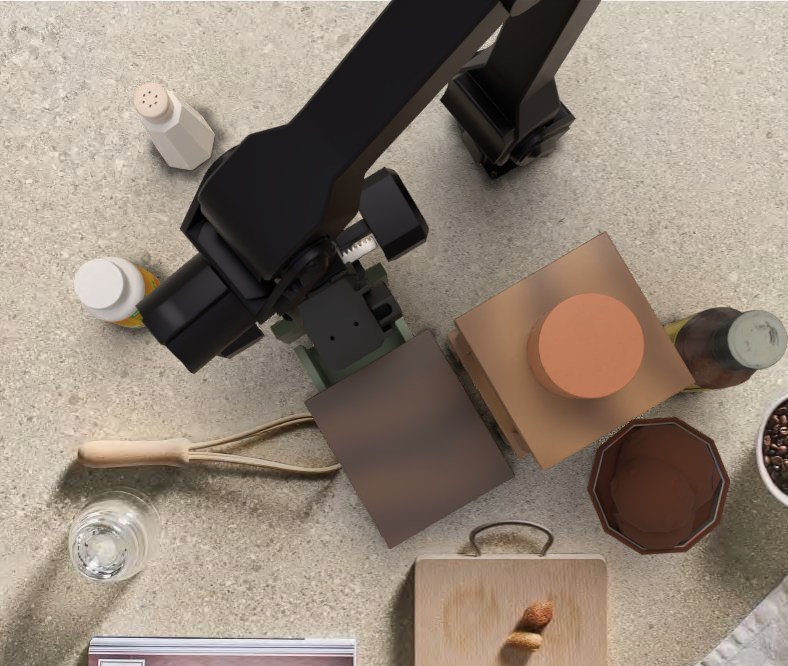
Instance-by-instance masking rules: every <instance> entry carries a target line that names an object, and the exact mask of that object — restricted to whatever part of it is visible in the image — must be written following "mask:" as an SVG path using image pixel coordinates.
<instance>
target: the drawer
mask: <svg viewBox="0 0 788 666" xmlns="http://www.w3.org/2000/svg"><path fill="white" fill-rule="evenodd" d="M364 270H365V276H364V278H366V277H367V278H368V280H369V281H370V283H371V284H376V283H378V282H379V281H384V283H385V284H386V285H387V287H388V288H389V286H390V282H389V276H388V273H387V271H386V269H385V267H384V265H383V263H381V261H378V262H377V263H375V264H374V265H372V266H370V267H368V268H367V269H364ZM364 278H363V279H362V280H364ZM379 325H380V324H379ZM380 326H381V325H380ZM395 326H396V328H397V330H398V331H396V332H394V333H393V334H391V335H390V336H388V337H386V338H385V339H384V342H383V344H382V346H381V347H380V348H378V349H377V350H375V351H373V352H372V353H370V354H368V355H367V356H365V357H363V358H362V359H360V360H358V361H357V362H355V363H353V364H351V365H350V366H348V367H346V368H345V369H343V370H339V371H335V370H331V369H330V368H328V367H327V366H326V364H325V363H324V361H323V360H322V358H321V356H320V355H319V353H318V352H317V350H316V348H315V347H314V345H312V346H310V347H307V346H304V345H303V344H298V345H297V346H295V347H294V348H293V350H292V351H293V352H294V354H295V355H296V357H297V359H298V360H299V362H300V364H301V366H302V367H303V369H304V370H305V372H306V374H307V376H308V377H309V379H310V381H311V383H312V385H313V386H314V388H315V390H316V391H317V394H318V393H320V392H322V391H323V390H325V389H327V388H328V387H330V386H332V385H334V384H335V383H337V382H339V381H340V380H342V379H344V378H345V377H347V376H349V375H351V374H352V373H354V372H356V371H357V370H359V369H361V368H362V367H364V366H366V365H368V364H369V363H371V362H373V361H374V360H376V359H378V358H380V357H381V356H383V355H385V354H386V353H388V352H390V351H391V350H393V349H395V348H397V347H398V346H400V345H402V344H403V343H405V342H407V341H408V340H410V339H412V338H414V337H415V335H414V334H413V332H412V330H411V329H410V327H409V325H408V324H407V322H406V320H405V319H404V316H403V317H401V318H400V319H398V320H397V321H396V322H395ZM269 328H270V330H271V332H272V333H273V336H274V337H275V339H276V340H277V341H280V342H282V343H284V344H287V345H289V346H290V345H291V344H292V343H294V342H296V341H298V340H300V339H301V338H303V337H305V336H306V335H307V334H306V332H305V330H304V328H299V327H297V326H296V324H295V322H294V321H286V320H285V319H284V318H283V317H282V319H280V320H278V321H276V322H275V323H273V324H271V325H270V326H269Z"/></svg>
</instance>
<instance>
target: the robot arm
mask: <svg viewBox="0 0 788 666" xmlns="http://www.w3.org/2000/svg"><path fill="white" fill-rule="evenodd" d="M601 2H602V0H390V1H389V2H388V3H387V5H386V6H385V7H384V8H383V9H382V11H381V12H380V13H379V15H378V16H377V17H376V18H375V19H374V20H373V22H372V23H371V24H370V26H368V28H367V29H366V30H365V31H364V33H363V34H362V35H361V36H360V38H359V39H358V40H357V41H356V42H355V44H353V46H352V47H351V49H349V51H348V52H347V53H346V54H345V56H344V57H342V59H341V60H340V62H339V63H338V64H337V65H336V66H335V68H334V69H333V70H332V71H331V73H330V74H329V75H328V76H327V78H326V79H325V80H324V81H323V82H322V83H321V85H320V86H319V87H318V89H316V91H315V92H314V93H313V94H312V96H311V97H310V98H308V100H307V101H306V103H305V104H304V105H303V107H301V109H299V111H298V112H297V113H296V114H295V115H294V116H293V117H292V118H291V119H290V121H288V122H287V123H285V124H281V125H278V126H274V127H270V128H267V129H262V130H259V131H256V132H252V133H250V134H247V135H246V136H245V137H244V139H243V140H242V141H241V142H239V143H238V144H236V145H234V146H233V147H231V148H229V149H228V150H227V151H224V153H221V155H220V156H219V157H217V158H216V159H215V160H214V161H213V162H212V163H211V164H210V166H209V167H208V168H207V169H206V171H205V173H204V174H203V176H202V178H201V181H200V184H199V185H198V188H197V190H196V192H195V194H194V196H193V197H192V201H191V202H190V205H189V207H188V210H187V211H186V214H185V216H184V218H183V220H182V222H181V225H180V227H179V230H180V231H181V232H182V234H183V235H184V237H186V239H187V240H188V241H189V242H190V243H191V245H192V246H193V247H194V248H195V249H196V251H197V253H196V254H194V255H193V256H192V257H191V258H190V259H189V260H188V261H186V262H185V263H184V264H182V266H181V267H179V268H178V269H176V270H175V271H174V272H173V273H172V274H171V275H169V276H168V277H167V278H166V279H165V280H163V282H160V283H161V284H160V285H159V286H158V287H157V288H155V289H154V290H153V291H152V292H151V293H149V294H148V295H147V296H146V297H145V298H143V299H142V300H141V301H140V302H139V303H137V305H135V306H136V308H137V309H138V311H139V313H140V315H141V316H142V318H143V319H142V321H141V322H142V323H143V324H144V325H145V328H146V329H147V330H148V332H149V333H150V334H151V335H152V336H153V337H154V339H155V340H156V341H157V342H158V344H159V345H160V346H164V347H165V348H167V350H168V351H169V352H170V353H171V354H172V355H173V356H174V357H175V358H176V359H178V361H180V363H181V364H182V365H183V366H184V367H185V369H186V370H187V371H188V372H189V373H190V374H193V375H195V374H196V373H198V372H199V371H200V370H201V369H203V368H204V367H205V366H206V365H207V364H208V363H210V362H211V361H212V360H213V359H214V358H216V357H220V358H223V359H228V360H231V359H232V358H234V357H235V356H238V355H239V354H241V353H242V352H244V351H246V350H248V349H250V348H251V347H252V346H254V345H256V344H258V343H259V342H260V341H262V340H263V339H264V338H265V337H266V335H265V334H264V332H263V330H262V329H261V328H259V326H261V325H263V324H264V323H266V322H267V321H268V320H270V319H271V318H272V317H274V316H275V315H276V314H277V316H278V317H279V318H281V317H282V319H283V318H284V319H285V320H286V321H294V322H295V324H296V326H297V327H299V328H304V330H305V332H306V335H307V337H308V339H309V340H310V342H311V343H312V346H314V347H315V348H316V350H317V352H318V353H319V355H320V356H321V358H322V360H323V361H324V363H325V364H326V366H327V367H328V368H330V369H331V370H335V371H339V370H343V369H345V368H346V367H348V366H350V365H351V364H353V363H355V362H357V361H358V360H360V359H362V358H363V357H365V356H367V355H368V354H370V353H372V352H373V351H375V350H377V349H378V348H380V347H381V346H382V344H383V342H384V339H385V338H386V337H388V336H390V335H391V334H393V333H394V332H396V331H398V330H397V328H396V326H395V322H396V321H397V320H398V319H400V318H401V317H403V318H404V313H403V310H402V307H401V306H400V304H399V303H398V301H397V299H396V297H395V296H394V294H393V293H392V291H391V290H390V288H389V286H388V287H387V285H386V284H385V283H384V281H379V282H378V283H376V284H371V283H370V281H369V280H368V278H367V277H366V278H364V276H365V270H366V269H365V268H364V266H363V264H362V263H361V260H359V259H361V258H363V257H364V256H366V255H368V254H370V253H371V252H373V251H374V250H376V249H377V248H378V246H379V248H380V250H381V252H382V253H383V255H384V258H385V259H386V261H387V263H392V262H393V261H397V260H399V259H400V258H402V257H403V256H405V255H407V254H408V253H410V252H412V251H414V250H416V248H419V247H420V246H422V245H424V244H425V243H426V242H427V240H428V236H429V233H430V232H429V231H430V227H429V225H428V222H427V220H426V218H425V216H424V215H423V214H422V212H421V211H420V208H419V206H418V205H417V203H416V201H415V200H414V199H413V197H412V195H411V193H410V191H409V190H408V188H407V186H406V185H405V182H403V180H402V179H401V177H400V174H399V173H398V172H397V171H396V170H395V169H392V168H389V167H386V166H383V167H382V168H380V169H378V170H376V171H374V172H373V173H371V174H370V175H368V176H367V177H365V176H366V174H367V172H368V171H369V170H370V169H371V168H372V166H373V165H374V164H375V163H376V162H377V161H378V159H379V158H380V157H381V156H382V155H383V154H384V153H385V152H386V151H387V150H388V148H390V146H391V145H392V144H393V143H394V142H395V141H396V140H397V139H398V138H399V136H400V135H401V134H402V133H403V132H404V131H405V130H406V129H407V128H408V127H409V126H410V125H411V123H412V122H413V121H415V119H416V118H417V117H418V116H419V115H420V114H421V112H423V111H424V109H425V108H427V106H428V105H429V104H430V103H431V102H432V101H433V100H434V99H435V98H436V97H437V95H439V93H440V92H441V91H442V90H443V89H444V88H445V87H446V88H445V91H444V92H443V94H442V96H441V97H440V98H439V102H440V103H441V104H442V105H443V106H444V108H445V109H446V110H447V112H449V114H450V115H451V116H452V117H453V118H454V119H455V121H456V124H457V126H458V129H459V130H460V132H461V133H462V139H461V141H462V142H463V145H464V146H465V148H466V149H467V151H468V153H469V154H470V156H471V158H472V160H473V161H474V163H475V164H476V165H481V167H482V169H483V170H484V172H485V174H486V176H487V177H488V179H489V180H490V181H497V180H499V179H500V178H502V177H504V176H506V175H508V174H509V173H511V172H512V171H514V170H516V169H518V168H519V167H521V166H522V167H524V166H528V165H529V164H530V163H532V162H533V161H534V160H536V159H539V158H548V157H550V156H551V155H552V154H553V153H554V152H555V151H556V147H557V141H558V140H560V139H561V138H562V137H563V136H564V135H565V134H566V133H568V131H569V130H570V129H571V128H570V127H571V125H573V123H574V122H575V121H576V119H577V117H575V115H574V114H573V113H572V112H571V110H570V109H569V108H568V107H567V106H566V104H564V102H563V101H562V100H561V98H560V95H559V91H558V85H557V82H556V78H555V76H556V75H557V73H558V71H559V69H560V68H561V66H562V64H563V63H564V61H565V60H566V59H567V57H568V55H569V53H570V52H571V50H572V49H573V47H574V45H575V44H576V42H577V40H578V39H579V38H580V36H581V34H582V33H583V31H584V29H585V28H586V26H587V25H588V23H589V21H590V19H591V18H592V17H593V15H594V13H595V12H596V10H597V8H598V7H599V5H600V4H601ZM498 29H499V31H498V33H497V36H496V37H495V40H494V42H493V43H491V44H490V45H489V46H488V47H485V48H483V49H481V48H482V47H483V46H484V44H486V42H487V41H488V40H489V39H490V38H491V37H492V36H493V35H494V34H495V33H496V32H497V30H498ZM493 173H495V174H496V175H495V176H493V175H492V174H493ZM358 214H360V216H361V219H360V220H357V221H356V222H355V223H353V224H352V225H351V224H350V223H351V222H352V221H353V219H355V218H356V216H357V215H358ZM348 225H350V226H348ZM368 236H369V239H368V238H367V237H368ZM363 239H364V241H365V242H364V241H363ZM359 241H360V244H359V243H358V242H359ZM353 245H355V246H353ZM363 278H364V280H362V279H363ZM379 324H380V325H381V326H380V325H379ZM258 325H259V326H258Z"/></svg>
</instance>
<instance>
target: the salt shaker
mask: <svg viewBox="0 0 788 666" xmlns="http://www.w3.org/2000/svg"><path fill="white" fill-rule="evenodd" d="M132 105H133V107H134V110H135V111H136V112H137V118H138V120H139V122H140V123H141V125H142V126H143V128H144V130H145V132H147V135H148V137H149V139H150V140H151V141H152V143H153V146H154V147H155V149H156V150H157V151H158V153H159V154H160V155H161V156H162V158H163V159H164V161H165V162H166V164H167V166H168V167H169V168H170V167H171V168H174V169H175V168H177V169H182V170H186V171H187V170H188V171H194V170H195V169H196V168H198V167H200V165H202V164H203V163H205V162H206V161H208V160H209V159H210V158H212V154H213V148H214V142H215V136H216V134H215V132H214V131H213V130H212V128H211V126H210V125H209V124H208V122H207V121H206V120H205V118H204V117H203V115H202V114H200V112H199V111H197V110H196V109H195V108H193V107H192V106H191V105H190V104H189V103H187V102H186V101H185V100H184V99H182V98H181V97H180V96H179V95H178V94H176V93H175V92H174V91H172V90H168V89H166V88H165V87H164V86H163V85H161V84H159V83H157V82H152V81H150V82H145V83H142V84H141V85H140V86H138V87H137V88H136V90H135V92H134V93H133V98H132Z"/></svg>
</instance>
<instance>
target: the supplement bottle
mask: <svg viewBox="0 0 788 666" xmlns="http://www.w3.org/2000/svg"><path fill="white" fill-rule="evenodd" d="M161 283H162V282H161V281H160V280H159V279H158V278H157V276H155V275H154V274H153V273H151V272H150V271H148V270H146V269H144V268H143V267H140V266H139V265H136V264H134V263H133V262H132V261H129V260H128V259H125V258H122V257H119V256H111V255H110V256H104V257H99V258H95V259H91V260H89V261H86V262H85V263H83V264H82V265H81V266H80V267H79V268H78V270H77V271H76V273H75V276H74V280H73V289H74V293H75V296H76V297H77V299H78V300H79V301H80V302H81V304H82V306H83V308H84V309H85V311H87V312H88V313H89V314H90V316H93V317H94V318H96V319H99V320H100V321H104V322H106V323H110V324H114V325H119V326H121V327H125V328H130V329H139V328H144V327H145V325H144V324H143V323H142V322H141V321H142V319H143V318H142V316H141V315H140V313H139V311H138V309H137V308H136V306H135V305H137V303H139V302H140V301H141V300H142V299H143V298H145V297H146V296H147V295H148V294H149V293H151V292H152V291H153V290H154V289H155V288H157V287H158V286H159V285H160V284H161ZM145 328H146V327H145Z"/></svg>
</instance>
